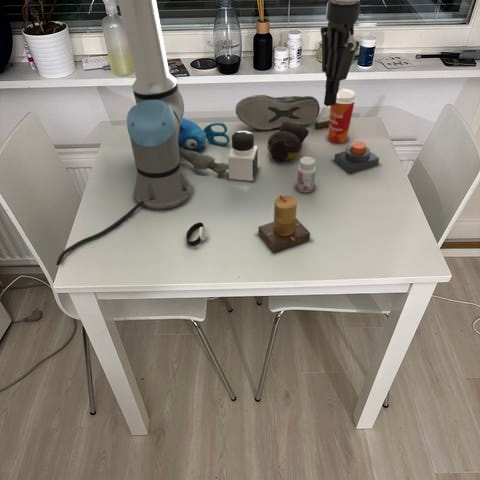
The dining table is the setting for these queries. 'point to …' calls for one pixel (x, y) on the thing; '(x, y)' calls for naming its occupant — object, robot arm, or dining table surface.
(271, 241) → the panel
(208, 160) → the statue
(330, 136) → the paper cup
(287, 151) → the figurine
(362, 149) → the button
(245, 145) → the medicine bottle
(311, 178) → the pill bottle
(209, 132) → the scissors
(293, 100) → the shoe
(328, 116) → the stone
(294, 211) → the lock knob
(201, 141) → the toy
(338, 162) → the button box
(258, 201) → the dining table surface
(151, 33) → the robot arm
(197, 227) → the watch
